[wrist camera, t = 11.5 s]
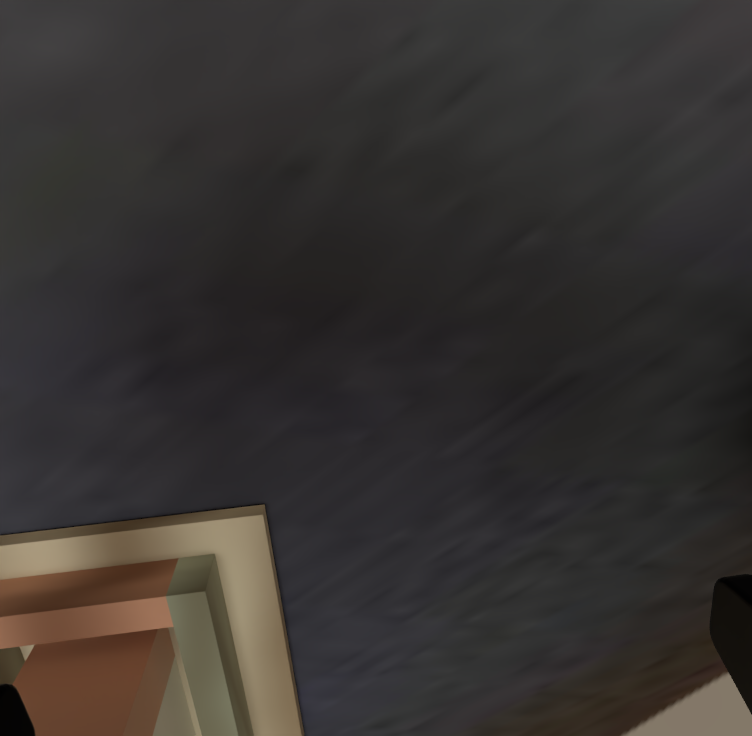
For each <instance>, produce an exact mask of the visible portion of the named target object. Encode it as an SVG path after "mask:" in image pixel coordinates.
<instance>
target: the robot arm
mask: <svg viewBox="0 0 752 736" xmlns="http://www.w3.org/2000/svg"><path fill="white" fill-rule="evenodd" d="M710 634H711V638H712V641H713V643H714V646H715V648H716V650H717V652H718V653H719V655H720V657H721V659H722V661H723V663H724V664H725V666H726V668H727V670H728V672H729V674H730V675H731V677H732V679H733V681H734V683H735V684H736V687H737V688H738V690H739V692H740V694H741V696H742V698H743V699H744V701H745V703H746V705H747V707H748V708H749V710H750V712H751V714H752V575H749V574H743V575H736V576H729V577H723V578H720V579H718V580H717V582H716V583H715V586H714V592H713V601H712V609H711V617H710ZM0 736H35V729H34V726H33V723H32V721H31V719H30V717H29V714H28V712H27V710H26V708H25V705H24V703H23V701H22V698H21V696H20V694H19V692H18V690H17V688H16V687H15V686H13V685H12V684H8V683H5V684H0Z"/></svg>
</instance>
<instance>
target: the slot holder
mask: <svg viewBox="0 0 752 736" xmlns="http://www.w3.org/2000/svg"><path fill="white" fill-rule="evenodd" d="M160 628H168V630H169V634H170V637H171V641H172V645H173V649H174V653H175V657H176V661H177V665H178V668H179V672H180V676H181V680H182V684H183V688H184V692H185V696H186V699H187V703H188V707H189V711H190V715H191V719H192V723H193V727H194V730H195V734H196V736H304V730H303V724H302V719H301V713H300V707H299V701H298V695H297V690H296V684H295V678H294V672H293V666H292V661H291V655H290V649H289V643H288V637H287V632H286V626H285V620H284V614H283V608H282V603H281V597H280V591H279V585H278V579H277V574H276V568H275V562H274V556H273V551H272V545H271V539H270V533H269V527H268V522H267V516H266V510H265V504H264V505H255V506H247V507H238V508H230V509H221V510H213V511H204V512H196V513H188V514H179V515H171V516H162V517H154V518H145V519H137V520H128V521H120V522H112V523H103V524H95V525H86V526H78V527H69V528H61V529H52V530H44V531H35V532H27V533H19V534H10V535H2V536H0V684H5V683H8V684H13V682H14V681H15V679H16V677H17V675H18V673H19V672H20V670H21V668H22V666H23V665H24V663H25V661H26V659H27V658H28V656H29V654H30V652H31V651H32V649H33V647H34V645H35V644H43V643H51V642H59V641H67V640H74V639H82V638H90V637H98V636H105V635H113V634H121V633H129V632H137V631H144V630H152V629H160Z"/></svg>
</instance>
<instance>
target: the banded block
mask: <svg viewBox="0 0 752 736" xmlns="http://www.w3.org/2000/svg"><path fill="white" fill-rule="evenodd" d="M12 685H13V686H15V687H16V688H17V690H18V692H19V694H20V696H21V698H22V701H23V703H24V705H25V708H26V710H27V712H28V714H29V717H30V719H31V721H32V723H33V726H34V729H35V736H196V734H195V730H194V727H193V723H192V719H191V715H190V711H189V707H188V703H187V699H186V696H185V692H184V688H183V684H182V680H181V676H180V672H179V668H178V665H177V661H176V657H175V653H174V649H173V645H172V641H171V637H170V634H169V630H168V628H160V629H152V630H144V631H137V632H129V633H121V634H113V635H105V636H98V637H90V638H82V639H74V640H67V641H59V642H51V643H43V644H35V645H34V647H33V649H32V651H31V652H30V654H29V656H28V658H27V659H26V661H25V663H24V665H23V666H22V668H21V670H20V672H19V673H18V675H17V677H16V679H15V681H14V682H13V684H12Z"/></svg>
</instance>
